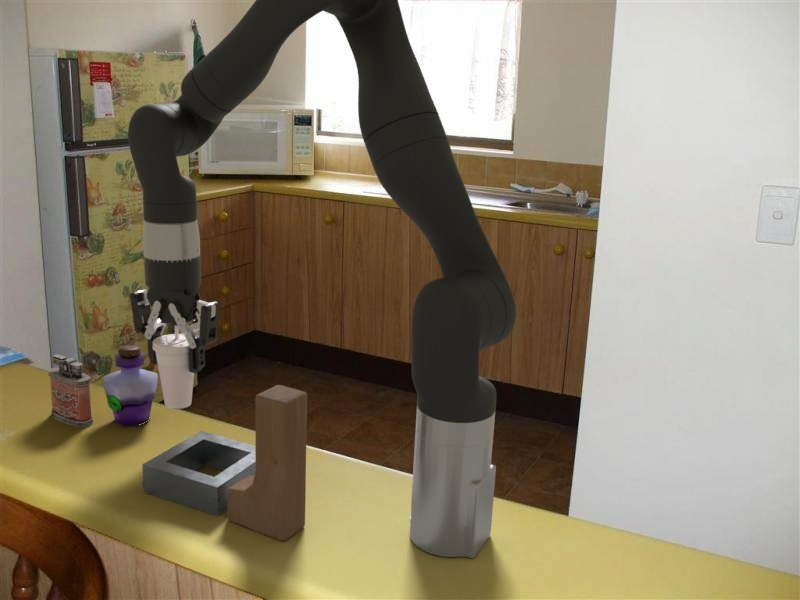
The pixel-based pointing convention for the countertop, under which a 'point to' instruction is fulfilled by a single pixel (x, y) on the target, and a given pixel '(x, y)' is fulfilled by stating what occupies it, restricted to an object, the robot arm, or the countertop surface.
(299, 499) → the wooden block
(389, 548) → the countertop surface
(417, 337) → the robot arm
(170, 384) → the smoothie
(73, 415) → the lighter
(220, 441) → the frame
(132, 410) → the potion bottle
